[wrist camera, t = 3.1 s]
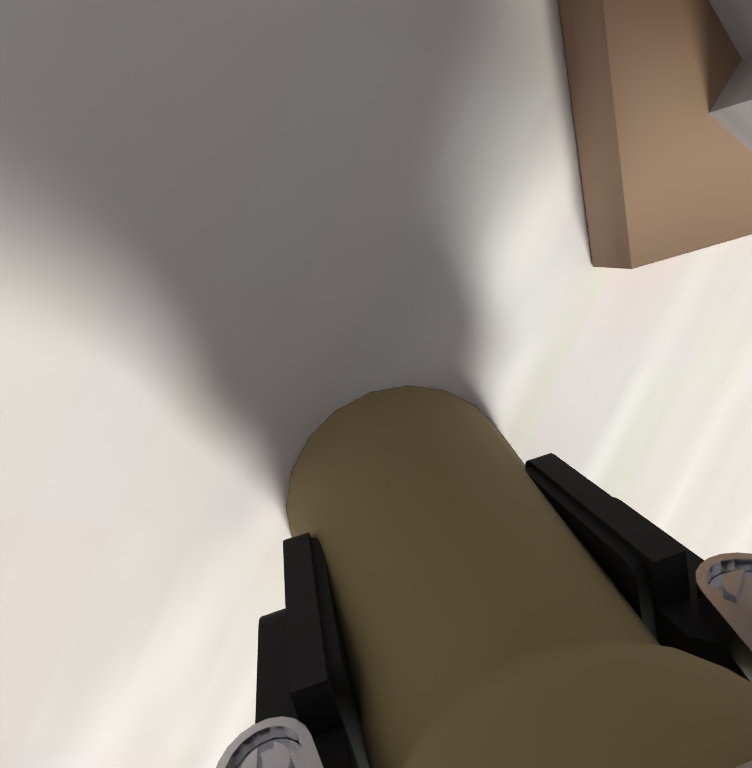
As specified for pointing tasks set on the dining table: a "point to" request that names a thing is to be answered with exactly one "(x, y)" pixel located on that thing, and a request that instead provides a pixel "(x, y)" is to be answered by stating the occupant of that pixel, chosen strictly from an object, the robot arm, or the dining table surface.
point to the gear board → (661, 124)
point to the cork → (489, 607)
